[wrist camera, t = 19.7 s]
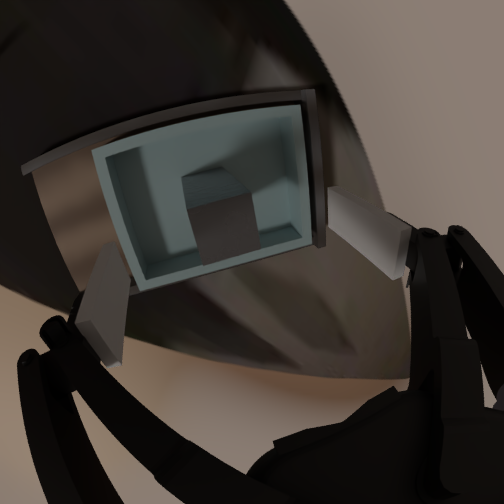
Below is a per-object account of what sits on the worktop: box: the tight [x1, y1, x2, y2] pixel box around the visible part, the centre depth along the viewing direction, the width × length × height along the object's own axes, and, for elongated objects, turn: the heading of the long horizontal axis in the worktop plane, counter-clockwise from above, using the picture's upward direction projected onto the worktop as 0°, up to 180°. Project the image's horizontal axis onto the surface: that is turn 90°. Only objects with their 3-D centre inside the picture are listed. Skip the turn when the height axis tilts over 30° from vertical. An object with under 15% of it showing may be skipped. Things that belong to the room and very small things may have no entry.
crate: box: [91, 105, 312, 291], centre depth 25 cm, size 14×18×4 cm
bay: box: [21, 89, 326, 296], centre depth 25 cm, size 17×29×4 cm, turn 99°
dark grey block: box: [181, 166, 261, 266], centre depth 21 cm, size 4×4×10 cm
